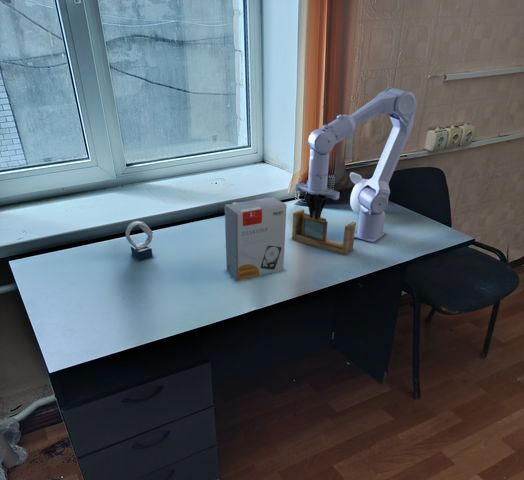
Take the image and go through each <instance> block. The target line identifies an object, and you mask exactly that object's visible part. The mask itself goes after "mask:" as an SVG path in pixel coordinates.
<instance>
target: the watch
mask: <svg viewBox="0 0 524 480" xmlns="http://www.w3.org/2000/svg"><path fill="white" fill-rule="evenodd" d="M136 226H139V228H140V229H141V230H142V232H144V233H145V234H146V235H147V237H146V240H145V241H144V242H139V243H135V242H134V241H133V239H132V238H131V235H130V233H131V231H132V230H133V229H134V227H136ZM153 234H154V231H153V230H152V229H151V227H150V226H148V225H147V223H145V222H144V221H143V220H140V221H139V220H134V221H132V222H130V223H129V224H128V225H127V226H126V229H125V238H126V240H127V242H128V243H129V244H130V251H131V252H130V253H131V256H132V257H133V258H135V259H137V260H138V261H139V262H143V261H146V260H150V259H153V258H154V256H153V250H152V247H150V246H149V245H150V244H151V242H152V241H153V237H154V236H153Z"/></svg>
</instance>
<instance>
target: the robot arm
mask: <svg viewBox="0 0 524 480" xmlns="http://www.w3.org/2000/svg"><path fill="white" fill-rule="evenodd" d="M418 105H419V104H418V101H417V99H416V96H415V95H414V93H413V92H411V91H406V90H402V89H398V88H396V87H394V86H391V87H388V88H386V89H385V90H384V91H383V90H382V91H381V92H379V93H377V95H376V96H375V97H374V98H373V99H371V100H370V101H369V102H367V103H365V104H364V105H363V106H362V107H360V108H359V109H357V110H356V111H354V112H353V113H351V114H350V115H348V114H339V115H337V116H336V119H334V120H332V121H331V122H329V123H328V124H323V125H322V128H316V129H314V130H313V131H311V132H310V134H309V135H308V138H307V139H306V141H307V146H308V148H309V162H308V163H309V165H308V166H309V167H308V180H307V183H301V182H298V183H296V184H295V188H294V189H295V192H303V193H305V195H304V196H303V197H304V198H303V199H304V200H305V202H306V205H307V208H308V212H309V214H310V218H312V214H313V211H315V219H318V218H320V217H322V212H323V210H324V207H325V205H326V203H327V202H328V201H329V199H332V200H334V201H338V200H339V199H340V191H337V190H334V189H332V188H329V187H328V176H329V166H330V153H331V152H332V151H333V149H334V147H335V145H337V144H339V142H341V141H343V140H345V139H347V138H348V137H349V136H351V135H352V134H354V132H355V129H356V127H358V126H360V125H361V124H363V123H365V122H367V121H368V120H370V119H373V117H376V116H378V115H379V114H386V115H388V116H389V119H390V122H391V124H392V128H391V131H390V133H389V135H388V138H387V141H386V143H385V146H384V148H383V151H382V153H381V155H380V158H379V160H378V162H377V164H376V168H375V170H374V172H373V174H372V177H371V178H368V179H369V180H367V181H366V183H365V185H364V187H363V188H362V189H361V190H360V191H359V193H358V201H359V203H360V214H358V223H357V230H356V231H355V235H354V239H358V240H363V241H366V242H369V243H375V242H376V241H377V240H379V239H380V238H381V237H383V236H384V235H385V234H386V232H385V231H384V226H385V220H386V212H385V210H386V209H387V208H388V205H389V197H390V194H391V189H390V185H389V184H390V181H391V179H392V176H393V174H394V172H395V170H396V167H397V165H398V162H399V160H400V158H401V156H402V154H403V151H404V148H405V147H406V144H407V142H408V139H409V137H410V135H411V133H412V130H413V128H414V125H415V112H416V110H417V107H418Z"/></svg>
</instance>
